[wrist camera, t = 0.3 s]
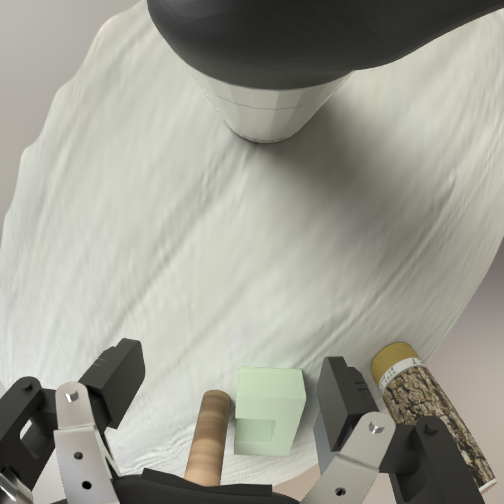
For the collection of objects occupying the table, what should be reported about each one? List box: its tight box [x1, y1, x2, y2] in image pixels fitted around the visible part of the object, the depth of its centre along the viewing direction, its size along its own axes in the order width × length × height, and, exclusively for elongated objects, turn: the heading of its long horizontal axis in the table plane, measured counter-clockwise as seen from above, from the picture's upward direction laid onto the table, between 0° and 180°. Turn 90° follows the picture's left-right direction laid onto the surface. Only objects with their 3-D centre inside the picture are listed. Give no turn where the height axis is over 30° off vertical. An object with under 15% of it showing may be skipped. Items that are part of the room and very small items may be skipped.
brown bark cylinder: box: [371, 343, 497, 495], centre depth 20 cm, size 7×7×25 cm
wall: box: [313, 410, 340, 476], centre depth 30 cm, size 14×2×10 cm, turn 176°
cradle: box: [234, 366, 307, 456], centre depth 32 cm, size 14×8×6 cm, turn 176°
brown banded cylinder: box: [184, 390, 231, 486], centre depth 26 cm, size 4×4×18 cm
